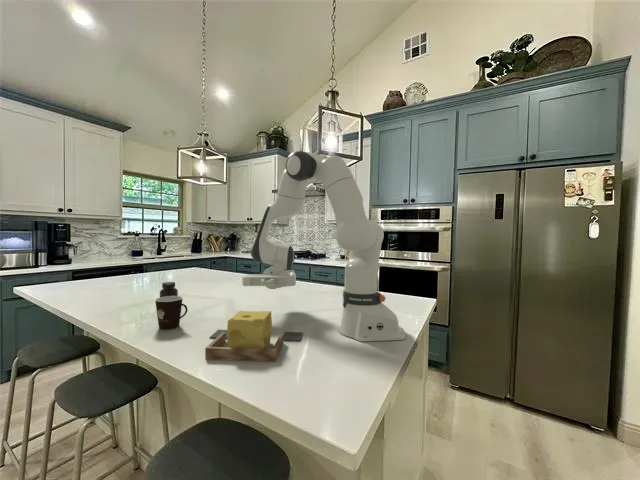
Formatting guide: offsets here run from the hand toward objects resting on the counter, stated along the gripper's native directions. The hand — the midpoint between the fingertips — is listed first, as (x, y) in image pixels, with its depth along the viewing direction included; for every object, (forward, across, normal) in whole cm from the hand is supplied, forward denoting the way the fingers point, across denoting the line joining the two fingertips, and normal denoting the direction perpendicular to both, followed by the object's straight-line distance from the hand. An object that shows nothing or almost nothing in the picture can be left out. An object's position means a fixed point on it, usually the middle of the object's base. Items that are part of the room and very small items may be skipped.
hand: (265, 283), depth 104 cm
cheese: (+18, -1, +16) cm, 25 cm away
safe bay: (+20, -1, +16) cm, 26 cm away
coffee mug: (+4, -33, +15) cm, 36 cm away
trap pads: (+9, -1, +16) cm, 18 cm away
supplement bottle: (-16, -45, +14) cm, 50 cm away
